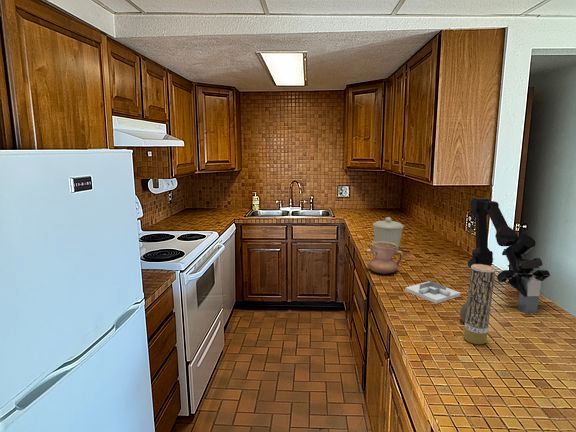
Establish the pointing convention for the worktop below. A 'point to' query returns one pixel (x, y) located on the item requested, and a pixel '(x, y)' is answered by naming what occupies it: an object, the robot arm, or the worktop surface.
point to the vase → (463, 312)
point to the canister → (388, 231)
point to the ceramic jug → (384, 257)
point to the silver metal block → (530, 295)
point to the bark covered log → (479, 303)
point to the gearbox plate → (432, 292)
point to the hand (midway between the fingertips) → (531, 296)
